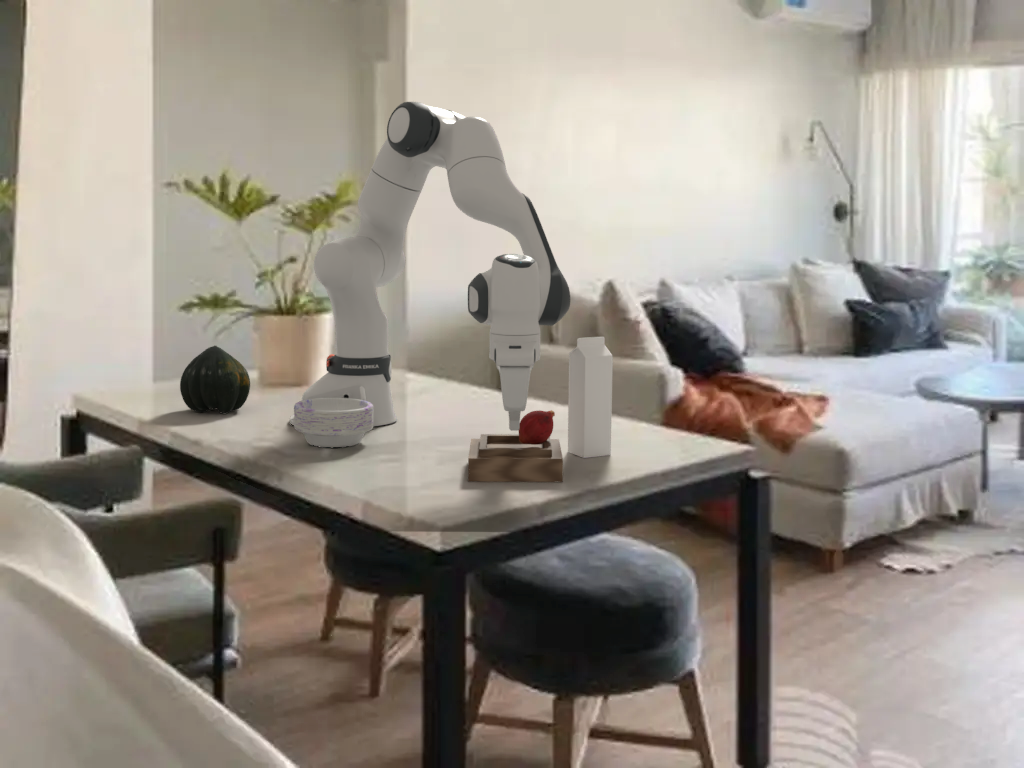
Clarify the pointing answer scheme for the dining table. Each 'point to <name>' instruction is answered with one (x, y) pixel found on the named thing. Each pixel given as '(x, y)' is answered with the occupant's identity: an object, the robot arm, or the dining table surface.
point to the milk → (590, 398)
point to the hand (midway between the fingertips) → (514, 427)
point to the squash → (214, 382)
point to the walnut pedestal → (514, 460)
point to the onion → (536, 427)
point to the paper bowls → (333, 421)
